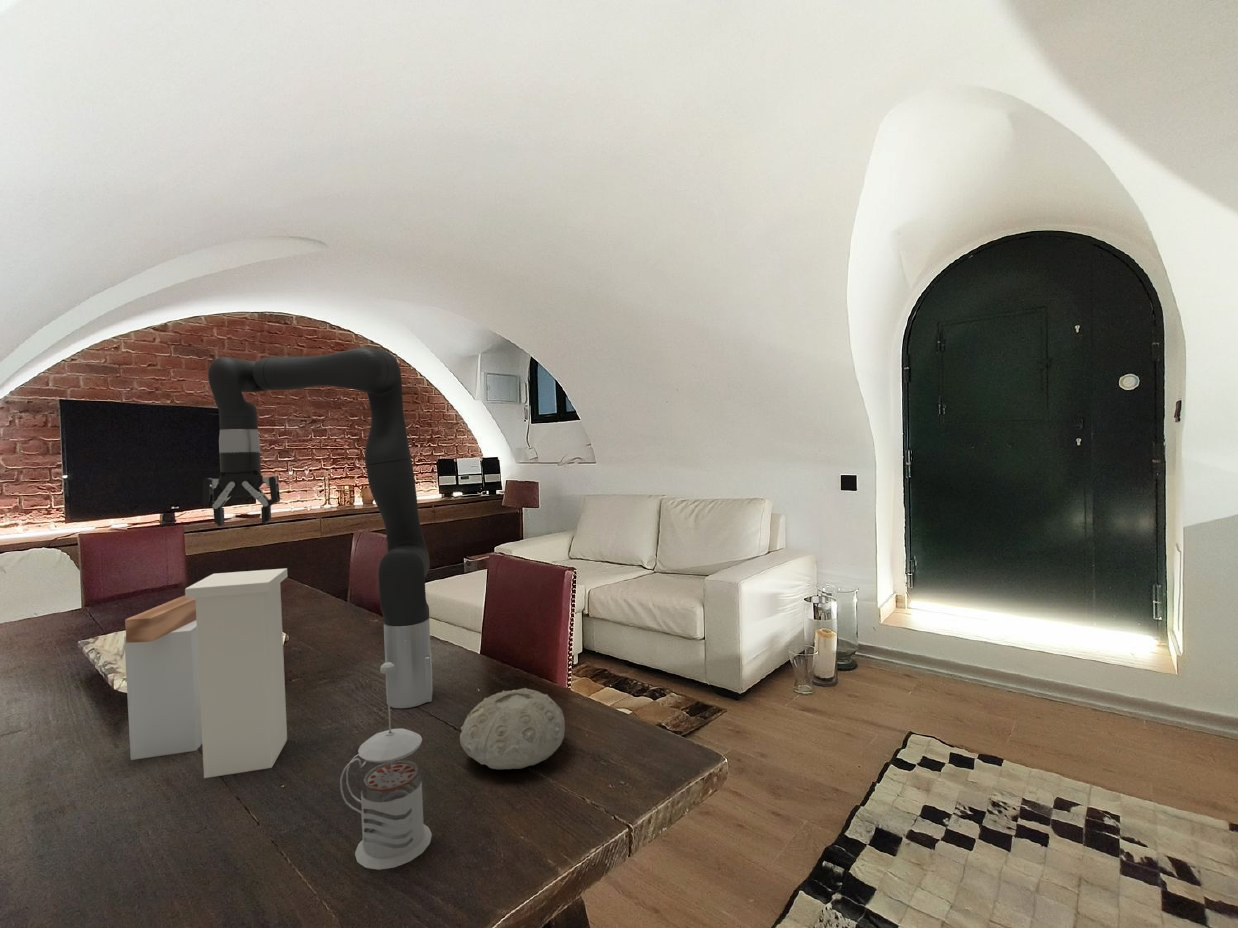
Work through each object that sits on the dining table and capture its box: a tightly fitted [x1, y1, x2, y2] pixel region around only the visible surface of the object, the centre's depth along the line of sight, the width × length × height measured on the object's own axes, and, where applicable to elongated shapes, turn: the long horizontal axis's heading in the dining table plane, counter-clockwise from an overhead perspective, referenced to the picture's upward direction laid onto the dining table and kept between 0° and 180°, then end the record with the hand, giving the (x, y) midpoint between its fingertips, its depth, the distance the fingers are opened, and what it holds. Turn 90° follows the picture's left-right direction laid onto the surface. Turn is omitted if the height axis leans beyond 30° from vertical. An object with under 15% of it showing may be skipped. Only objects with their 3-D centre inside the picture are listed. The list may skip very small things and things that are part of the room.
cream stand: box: [184, 567, 289, 779], centre depth 103 cm, size 12×12×32 cm
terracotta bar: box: [124, 594, 196, 643], centre depth 112 cm, size 4×24×4 cm, turn 7°
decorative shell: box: [459, 687, 566, 770], centre depth 103 cm, size 18×18×10 cm
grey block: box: [123, 620, 202, 761], centre depth 110 cm, size 10×10×22 cm
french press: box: [339, 662, 433, 870], centre depth 80 cm, size 10×12×25 cm
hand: (243, 524), depth 129 cm, fingers open, 8 cm apart
